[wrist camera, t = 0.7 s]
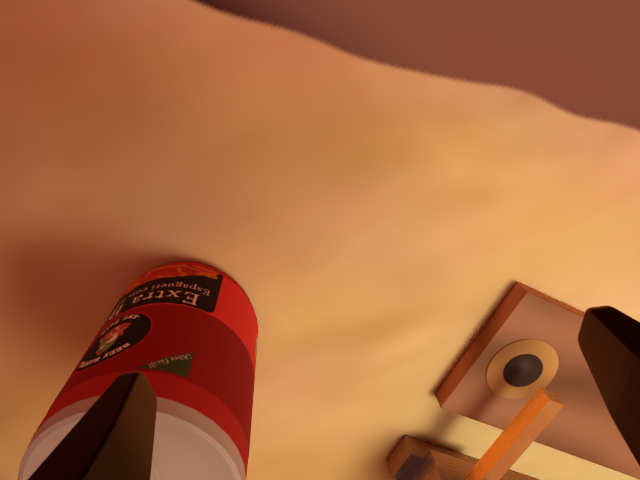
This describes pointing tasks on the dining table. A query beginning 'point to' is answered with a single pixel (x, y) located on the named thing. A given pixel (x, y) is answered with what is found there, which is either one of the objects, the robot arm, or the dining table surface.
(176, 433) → the canned food
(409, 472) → the gauge rail
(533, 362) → the hole board
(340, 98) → the dining table surface
